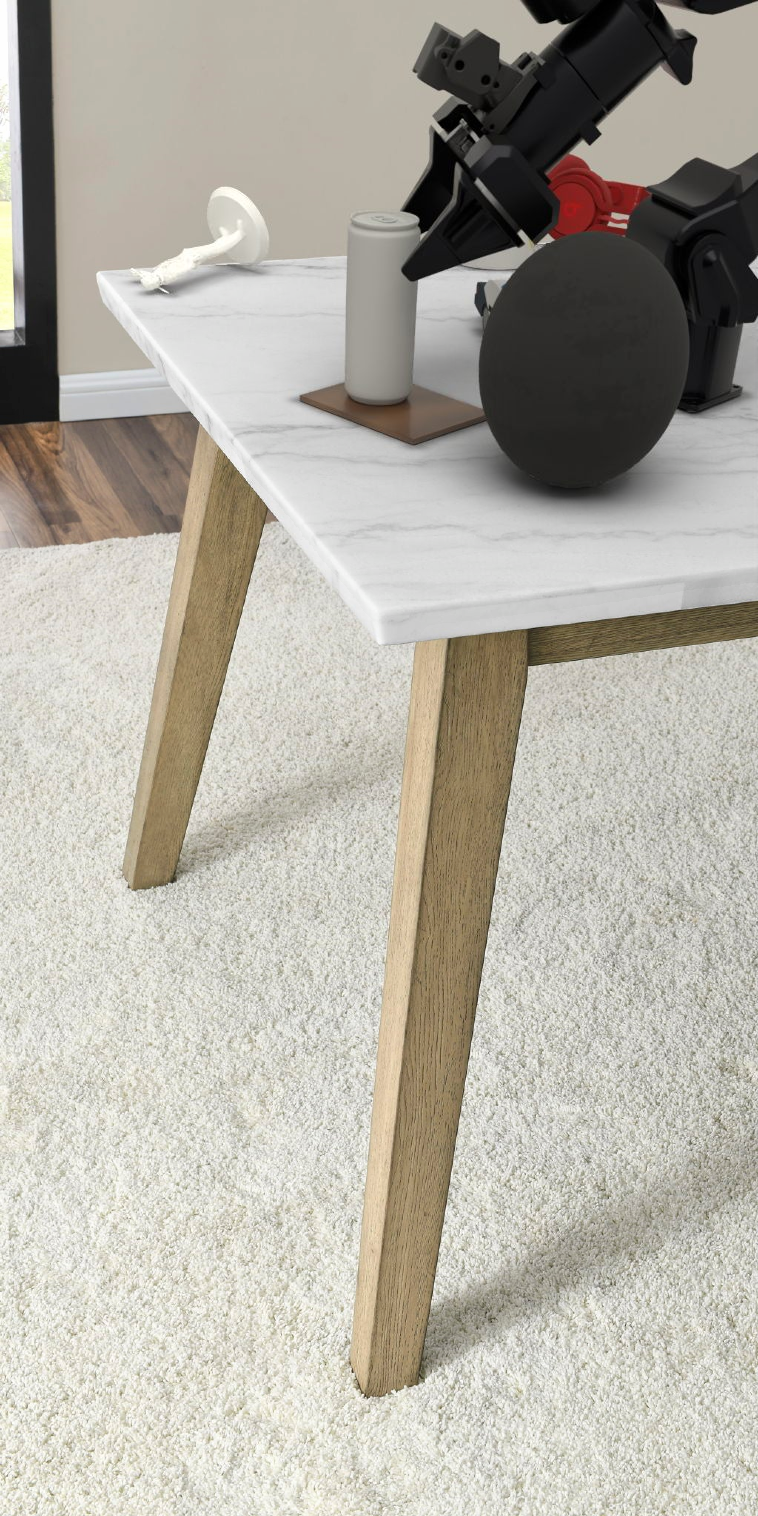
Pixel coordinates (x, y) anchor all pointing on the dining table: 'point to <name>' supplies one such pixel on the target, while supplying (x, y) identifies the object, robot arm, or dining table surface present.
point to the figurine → (218, 239)
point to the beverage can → (380, 307)
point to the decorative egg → (583, 359)
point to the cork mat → (400, 413)
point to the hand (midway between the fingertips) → (397, 257)
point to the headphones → (590, 199)
